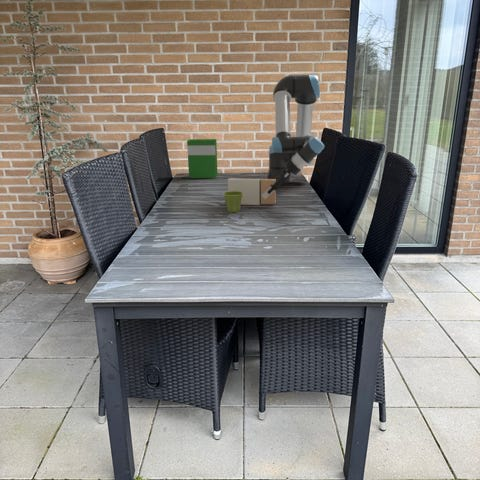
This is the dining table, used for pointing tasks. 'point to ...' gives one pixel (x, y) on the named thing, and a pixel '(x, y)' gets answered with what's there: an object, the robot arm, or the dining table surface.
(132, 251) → the dining table surface
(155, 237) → the dining table surface
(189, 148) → the hardback book
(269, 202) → the tan rectangular block
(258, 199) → the block
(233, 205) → the plant pot
